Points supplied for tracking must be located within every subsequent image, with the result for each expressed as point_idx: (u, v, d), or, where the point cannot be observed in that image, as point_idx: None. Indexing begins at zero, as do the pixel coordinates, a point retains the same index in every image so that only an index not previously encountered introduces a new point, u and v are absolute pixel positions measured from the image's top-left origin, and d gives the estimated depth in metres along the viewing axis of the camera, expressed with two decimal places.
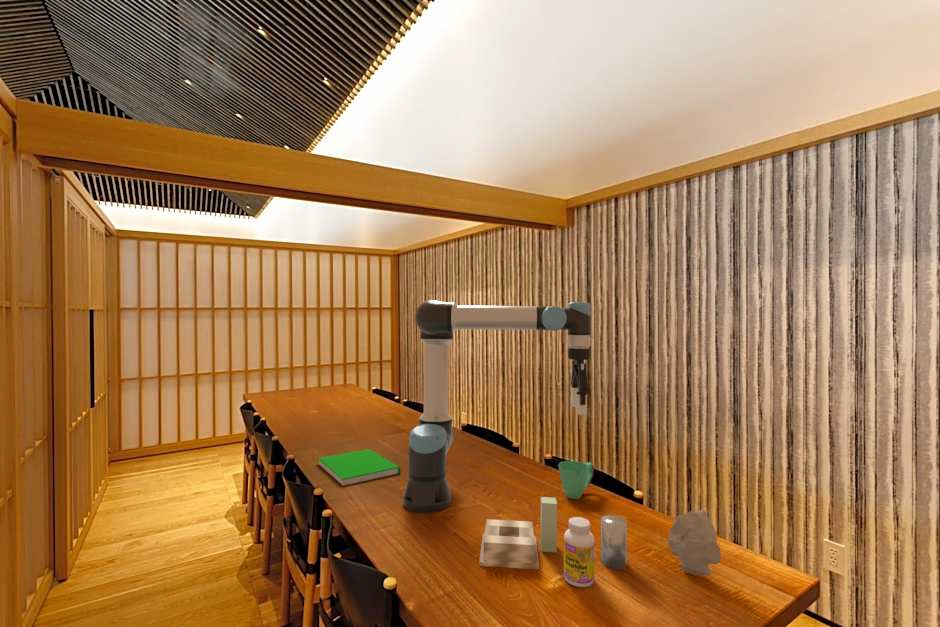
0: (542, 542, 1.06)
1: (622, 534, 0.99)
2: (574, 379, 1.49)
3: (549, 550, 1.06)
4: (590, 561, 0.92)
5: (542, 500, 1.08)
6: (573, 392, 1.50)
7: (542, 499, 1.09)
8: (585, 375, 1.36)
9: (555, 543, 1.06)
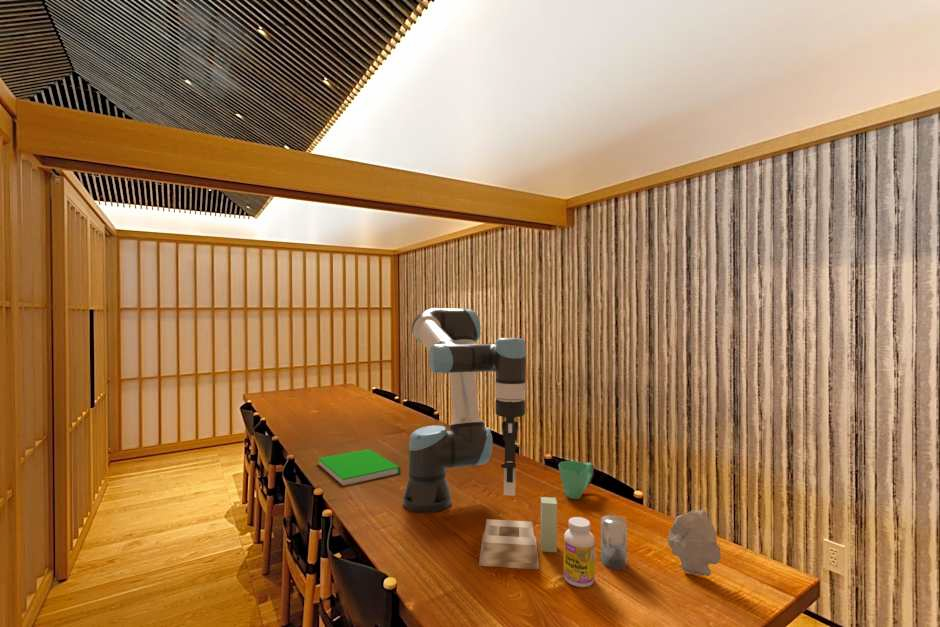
0: (542, 542, 1.06)
1: (622, 534, 0.99)
2: None
3: (549, 550, 1.06)
4: (590, 561, 0.92)
5: (542, 500, 1.08)
6: None
7: (542, 499, 1.09)
8: (513, 441, 0.99)
9: (555, 543, 1.06)
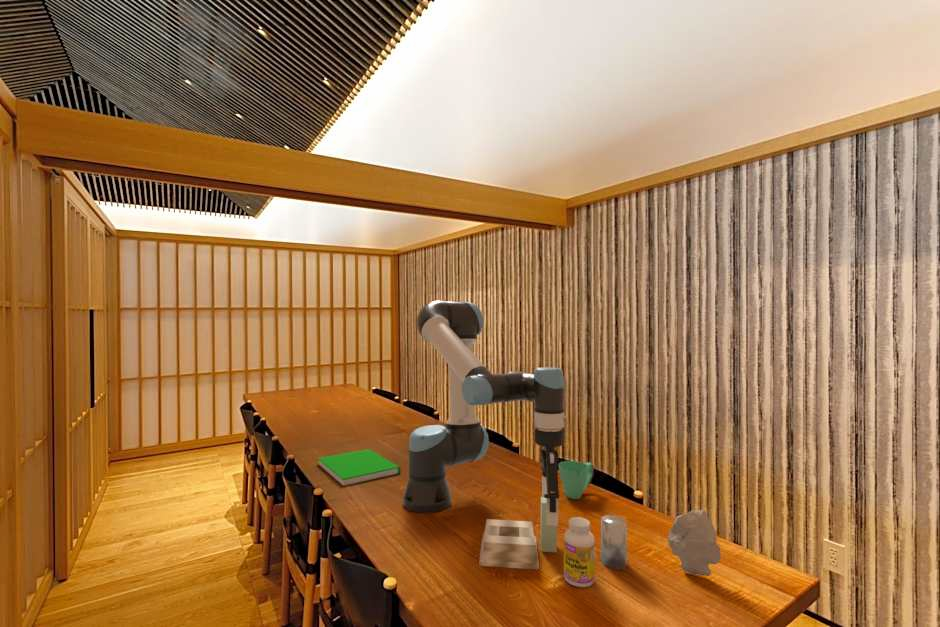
0: (542, 542, 1.06)
1: (622, 534, 0.99)
2: None
3: (549, 550, 1.06)
4: (590, 561, 0.92)
5: (542, 500, 1.08)
6: (544, 483, 1.15)
7: (542, 499, 1.09)
8: (556, 471, 1.01)
9: (555, 543, 1.06)
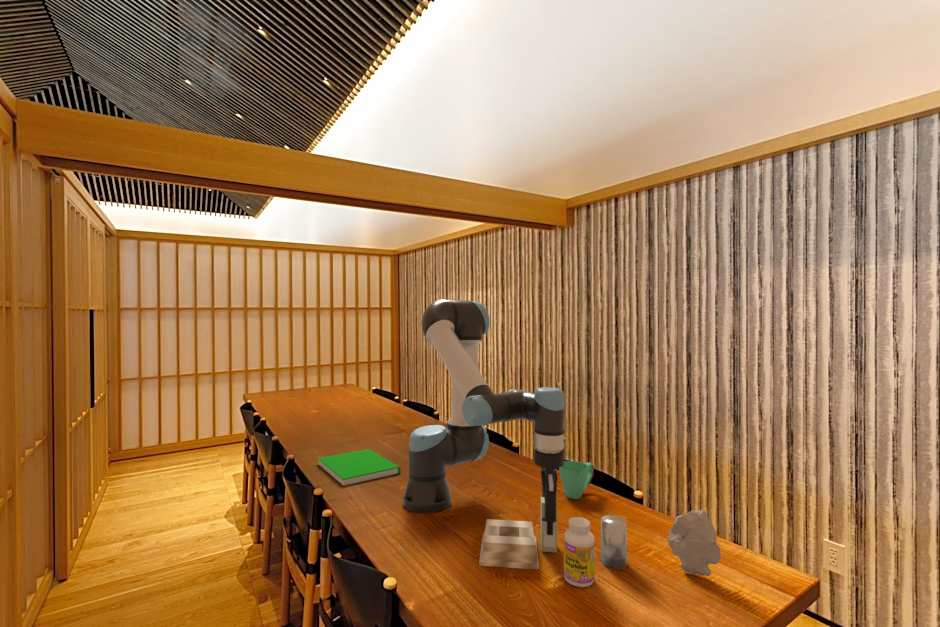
0: (542, 542, 1.06)
1: (622, 534, 0.99)
2: (545, 495, 1.10)
3: (549, 550, 1.06)
4: (590, 561, 0.92)
5: (542, 500, 1.08)
6: None
7: (542, 499, 1.09)
8: (554, 499, 1.02)
9: (555, 543, 1.06)
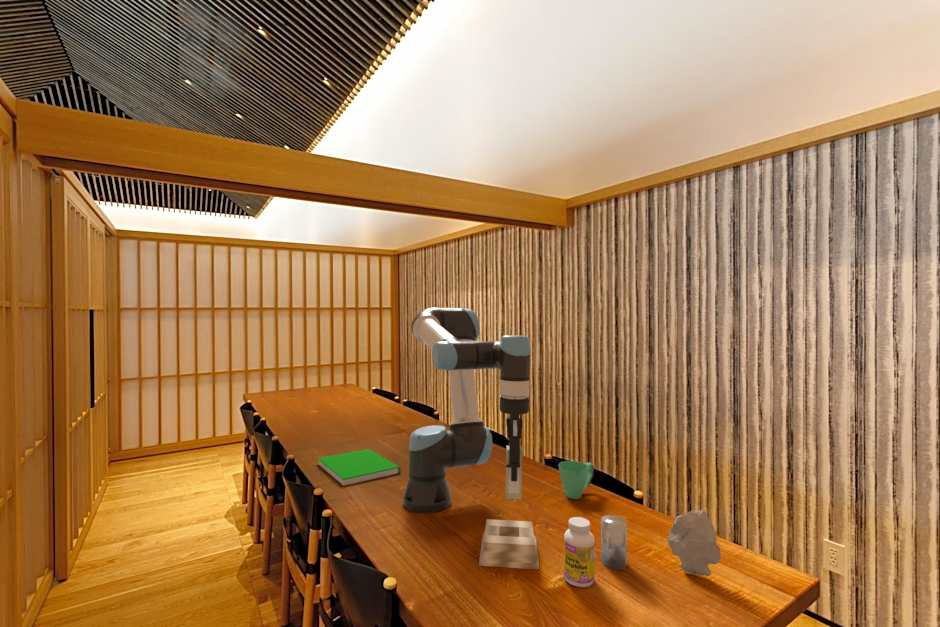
0: (507, 489, 1.05)
1: (622, 534, 0.99)
2: None
3: (514, 497, 1.05)
4: (590, 561, 0.92)
5: (507, 448, 1.07)
6: None
7: (507, 447, 1.08)
8: (518, 444, 1.01)
9: (520, 490, 1.05)
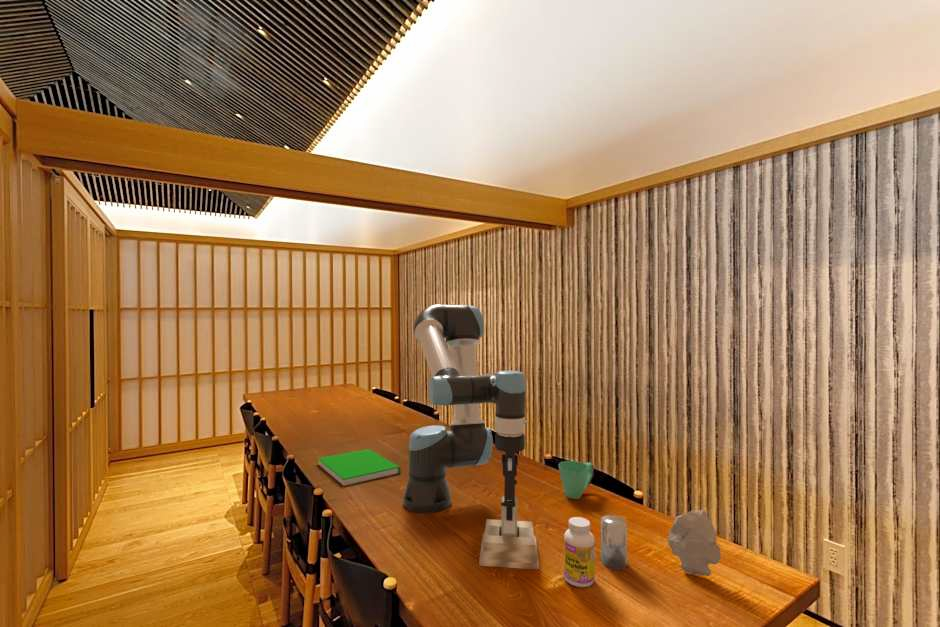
0: None
1: (622, 534, 0.99)
2: None
3: None
4: (590, 561, 0.92)
5: (503, 499, 1.06)
6: None
7: (503, 498, 1.07)
8: (513, 479, 0.99)
9: None
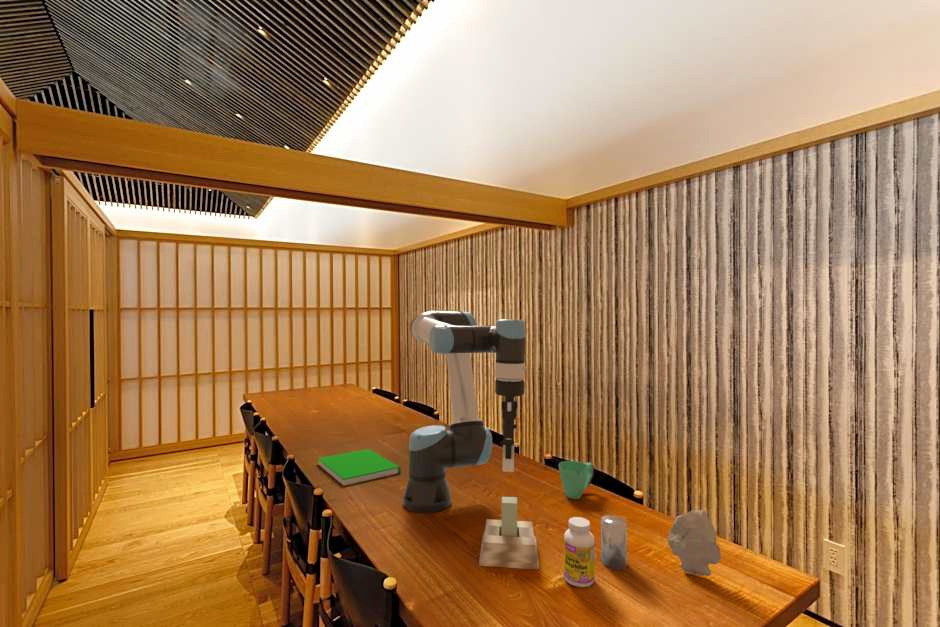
0: None
1: (622, 534, 0.99)
2: None
3: None
4: (590, 561, 0.92)
5: (503, 500, 1.06)
6: None
7: (503, 499, 1.07)
8: (512, 419, 1.01)
9: None
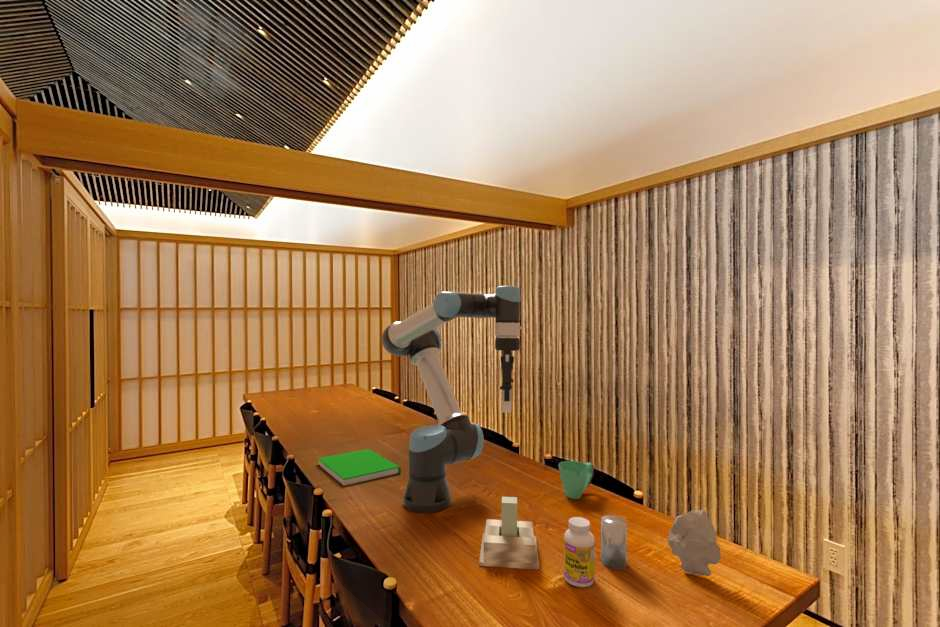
0: None
1: (622, 534, 0.99)
2: None
3: None
4: (590, 561, 0.92)
5: (503, 500, 1.06)
6: None
7: (503, 499, 1.07)
8: (510, 367, 1.20)
9: None
